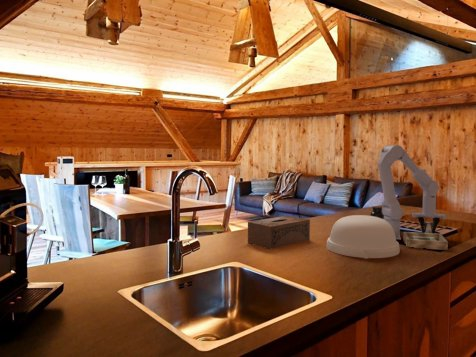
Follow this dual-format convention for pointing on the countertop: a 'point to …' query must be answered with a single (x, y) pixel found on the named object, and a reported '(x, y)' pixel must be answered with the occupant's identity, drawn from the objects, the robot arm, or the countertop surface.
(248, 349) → the countertop surface
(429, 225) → the steel peg
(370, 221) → the dome cover
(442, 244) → the peg box
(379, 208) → the supplement bottle
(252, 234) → the tissue box cover
